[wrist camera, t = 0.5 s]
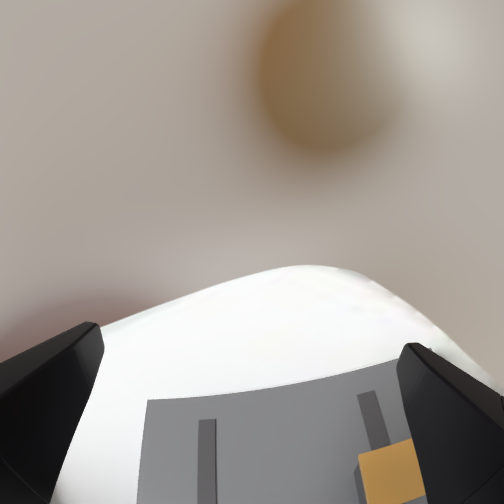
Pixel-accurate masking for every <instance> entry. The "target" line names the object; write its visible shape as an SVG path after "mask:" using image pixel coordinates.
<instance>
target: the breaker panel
mask: <svg viewBox="0 0 504 504" xmlns="http://www.w3.org/2000/svg"><path fill="white" fill-rule="evenodd" d="M429 350H431V351H432V349H431V348H429ZM432 352H433V351H432ZM398 360H399V358H398V359H395V360H392V361H388V362H385V363H381V364H378V365H374V366H371V367H367V368H363V369H359V370H356V371H352V372H348V373H343V374H339V375H335V376H331V377H326V378H322V379H317V380H312V381H307V382H302V383H297V384H291V385H286V386H280V387H274V388H268V389H262V390H255V391H248V392H240V393H232V394H223V395H214V396H203V397H191V398H176V399H156V400H148V401H147V408H146V415H145V423H144V431H143V440H142V449H141V458H140V469H139V480H138V493H137V504H360V503H359V498H358V493H357V488H356V483H355V478H354V473H353V472H354V470H355V468H356V466H357V464H358V456H359V454H363V453H366V452H370V451H373V450H377V449H380V448H383V447H387V446H390V445H393V444H396V443H399V442H402V441H405V440H407V439H410V438H412V437H411V433H410V430H409V426H408V423H407V419H406V416H405V412H404V408H403V402H402V397H401V392H400V387H399V382H398V377H397V373H396V365H397V362H398ZM402 504H428V503H427V498H426V495H423V496H421V497H418V498H416V499H413V500H410V501H408V502H405V503H402Z"/></svg>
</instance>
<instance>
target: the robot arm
mask: <svg viewBox="0 0 504 504" xmlns="http://www.w3.org/2000/svg"><path fill="white" fill-rule="evenodd" d="M103 354H104V342H103V338H102V334H101V330H100V327H99V325H98V324H96V323H92V322H84V323H82V324H80V325H77V326H75V327H73V328H71V329H69V330H67V331H65V332H63V333H61V334H59V335H57V336H55V337H53V338H51V339H49V340H46V341H44V342H43V343H40V344H38V345H36V346H35V347H32V348H30V349H28V350H26V351H24V352H22V353H20V354H18V355H16V356H14V357H12V358H10V359H8V360H6V361H4V362H2V363H0V504H50V501H51V498H52V494H53V491H54V488H55V485H56V482H57V479H58V476H59V474H60V471H61V468H62V465H63V462H64V460H65V457H66V454H67V451H68V449H69V446H70V443H71V441H72V438H73V436H74V433H75V431H76V428H77V426H78V423H79V421H80V418H81V416H82V413H83V411H84V409H85V406H86V404H87V402H88V399H89V397H90V394H91V391H92V389H93V385H94V382H95V379H96V376H97V373H98V369H99V366H100V363H101V360H102V357H103ZM396 373H397V377H398V382H399V387H400V392H401V397H402V402H403V408H404V412H405V416H406V419H407V423H408V426H409V430H410V433H411V437H412V440H413V444H414V448H415V452H416V456H417V459H418V463H419V467H420V472H421V476H422V480H423V484H424V489H425V493H426V498H427V503H428V504H504V397H503V396H500V394H498V393H497V392H495V391H494V390H492V389H491V388H489V387H487V386H486V385H484V384H483V383H481V382H480V381H478V380H476V379H475V378H473V377H472V376H470V375H469V374H467V373H466V372H464V371H462V370H461V369H459V368H458V367H456V366H455V365H453V364H451V363H450V362H448V361H447V360H445V359H444V358H442V357H440V356H439V355H437V354H436V353H434V352H432V351H431V350H429V349H428V348H426V347H425V346H423V345H421V344H420V343H407V344H405V346H404V348H403V350H402V352H401V355H400V357H399V360H398V362H397V365H396Z"/></svg>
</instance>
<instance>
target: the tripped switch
mask: <svg viewBox="0 0 504 504" xmlns="http://www.w3.org/2000/svg"><path fill="white" fill-rule="evenodd" d="M353 473H354V478H355V483H356V488H357V493H358V498H359V503H360V504H402V503H405V502H408V501H410V500H413V499H416V498H418V497H421V496H423V495H426V493H425V489H424V484H423V480H422V476H421V472H420V467H419V463H418V459H417V456H416V452H415V448H414V444H413V440H412V438H410V439H407V440H405V441H402V442H399V443H396V444H393V445H390V446H387V447H383V448H380V449H377V450H373V451H370V452H366V453H363V454H359V456H358V464H357V466H356V468H355V470H354V472H353Z"/></svg>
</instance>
